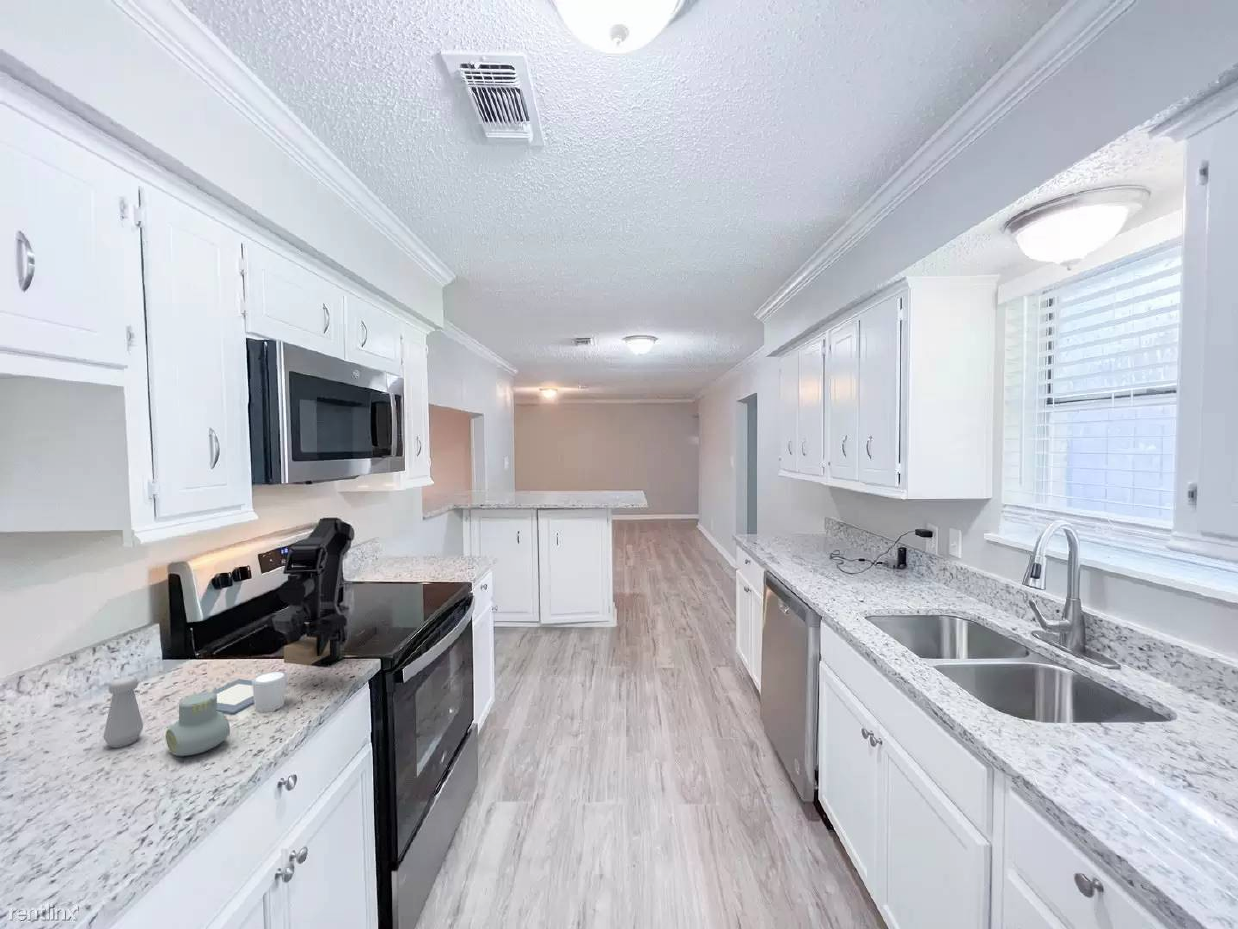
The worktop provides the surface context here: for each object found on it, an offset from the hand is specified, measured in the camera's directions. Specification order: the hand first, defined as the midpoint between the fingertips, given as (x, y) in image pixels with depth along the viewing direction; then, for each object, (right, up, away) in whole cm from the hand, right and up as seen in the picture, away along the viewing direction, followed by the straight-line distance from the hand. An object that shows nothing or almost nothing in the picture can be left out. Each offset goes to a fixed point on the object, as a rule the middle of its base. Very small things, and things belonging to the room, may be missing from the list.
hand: (307, 654), depth 131 cm
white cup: (-2, -9, -10) cm, 14 cm away
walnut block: (0, -1, 0) cm, 1 cm away
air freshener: (-5, -9, -27) cm, 29 cm away
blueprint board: (-13, -8, -6) cm, 17 cm away
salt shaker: (-21, -9, -26) cm, 35 cm away
